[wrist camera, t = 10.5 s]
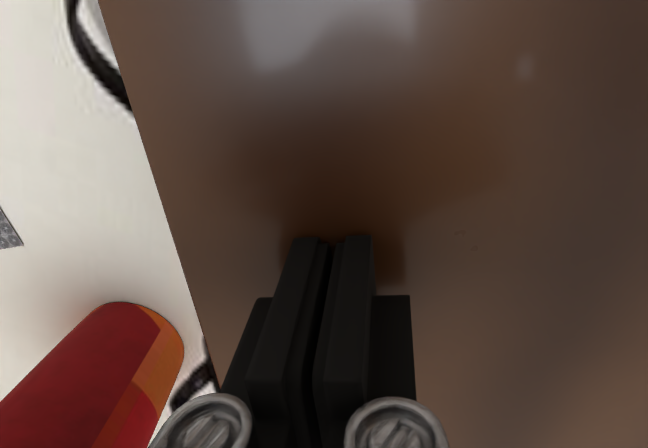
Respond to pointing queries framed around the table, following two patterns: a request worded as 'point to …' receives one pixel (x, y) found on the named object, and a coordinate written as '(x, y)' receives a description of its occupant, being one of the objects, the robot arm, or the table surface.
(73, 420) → the paper cup
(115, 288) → the table surface
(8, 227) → the architectural model
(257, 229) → the box lid
